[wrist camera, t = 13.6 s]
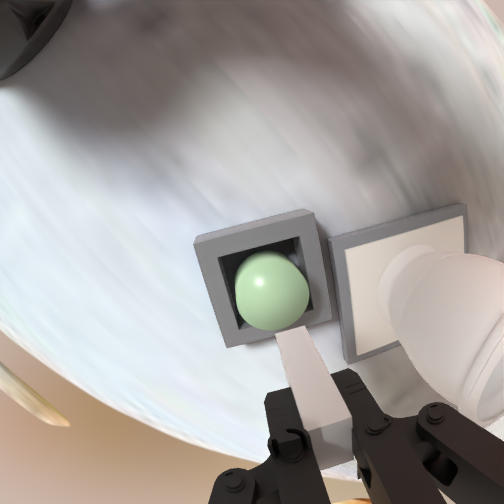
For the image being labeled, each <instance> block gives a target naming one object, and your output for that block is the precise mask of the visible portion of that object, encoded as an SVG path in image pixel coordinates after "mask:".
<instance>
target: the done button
mask: <svg viewBox="0 0 504 504" xmlns="http://www.w3.org/2000/svg"><path fill="white" fill-rule="evenodd" d="M235 293H236V303H237V308H238V310H239V313H240V314H241V316H242V317H243V319H244V320H245V321H246V322H247V323H249V324H250V325H252V326H253V327H256V328H258V329H262V330H271V331H272V330H279V329H283V328H285V327H288V326H290V325H291V324H293V323H294V322H295V321H297V320H298V319H299V318H300V317H301V315H302V314H303V313H304V311H305V309H306V307H307V304H308V300H309V288H308V284H307V282H306V280H305V278H304V277H303V275H302V274H301V273H300V271H299V270H298V269H297V267H296V266H295V265H294V264H293V262H292V261H291V260H290V259H289V258H288V257H287V256H285V255H284V254H281V253H279V252H276V251H260V252H257V253H254V254H252V255H250V256H249V257H247V258H246V259H245V260H244V261H243V262H242V263H241V265H240V266H239V268H238V270H237V272H236V275H235Z"/></svg>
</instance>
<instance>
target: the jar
mask: <svg viewBox="0 0 504 504" xmlns="http://www.w3.org/2000/svg"><path fill="white" fill-rule="evenodd" d="M377 304H378V309H379V312H380V314H381V316H382V317H383V318H384V320H385V321H387V322H388V323H389V324H391V325H392V327H393V330H394V332H395V334H396V336H397V338H398V340H399V342H400V344H401V345H402V347H403V348H404V349H405V351H406V353H407V355H408V357H409V359H410V361H411V362H412V364H413V365H414V367H415V368H416V370H417V371H418V372H419V374H420V375H421V376H422V377H423V379H424V380H425V381H426V382H427V383H428V384H429V385H430V386H431V387H432V388H433V389H434V390H435V391H436V392H438V393H439V394H440V395H441V396H443V397H444V398H445V399H447V400H448V401H449V402H451V403H453V404H454V405H456V406H458V412H459V413H461V414H462V415H464V416H465V417H467V418H468V419H470V420H472V421H473V422H475V423H476V424H478V425H479V426H481V427H482V428H485V427H487V426H489V425H490V424H492V423H494V422H495V421H497V420H498V419H499V418H501V417H502V416H503V415H504V263H502V262H499V261H497V260H494V259H491V258H488V257H485V256H481V255H475V254H465V253H462V252H457V251H449V250H441V251H437V250H436V249H434V248H433V247H431V246H427V245H415V246H411V247H409V248H407V249H405V250H403V251H402V252H400V253H399V254H398V255H397V256H396V257H394V259H393V260H392V261H391V262H390V263H389V265H388V266H387V267H386V269H385V271H384V273H383V275H382V277H381V279H380V282H379V286H378V291H377Z"/></svg>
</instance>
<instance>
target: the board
mask: <svg viewBox="0 0 504 504" xmlns="http://www.w3.org/2000/svg"><path fill="white" fill-rule="evenodd" d="M327 242H328V248H329V254H330V259H331V265H332V272H333V278H334V284H335V291H336V298H337V305H338V312H339V320H340V328H341V336H342V345H343V354H344V359H345V361H346V363H347V364H348V365H349V364H352V363H355V362H357V361H360V360H363V359H365V358H368V357H371V356H373V355H376V354H379V353H381V352H384V351H386V350H389V349H391V348H393V347H396V346H398V345H401V344H400V342H399V340H398V338H397V336H396V334H395V332H394V330H393V327H392V325H391V324H389V323H388V322H387V321H385V320H384V318H383V317H382V316H381V314H380V312H379V309H378V304H377V291H378V286H379V282H380V279H381V277H382V275H383V273H384V271H385V269H386V267H387V266H388V265H389V263H390V262H391V261H392V260H393V259H394V257H396V256H397V255H398V254H399V253H400V252H402V251H403V250H405V249H407V248H409V247H411V246H415V245H427V246H431V247H433V248H434V249H436V250H437V251H441V250H449V251H457V252H462V253H465V254H468V223H467V207H466V204H463V203H457V204H453V205H449V206H446V207H442V208H438V209H435V210H431V211H427V212H424V213H420V214H416V215H413V216H409V217H405V218H402V219H398V220H394V221H390V222H387V223H383V224H379V225H376V226H372V227H368V228H364V229H361V230H357V231H353V232H350V233H346V234H342V235H338V236H335V237H331V238H327Z"/></svg>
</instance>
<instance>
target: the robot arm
mask: <svg viewBox="0 0 504 504" xmlns="http://www.w3.org/2000/svg"><path fill="white" fill-rule="evenodd" d="M71 3H72V0H0V80H2V79H4V78H6V77H8V76H10V75H12V74H13V73H15V72H16V71H18V70H19V69H21V68H22V67H23V66H24V65H25V64H27V63H28V62H29V61H30V60H31V59H32V58H33V57H34V56H35V55H36V54H37V53H38V52H39V51H40V50H41V49H42V48H43V47H44V45H45V44H46V43H47V42H48V41H49V39H50V38H51V37H52V36H53V34H54V33H55V31H56V30H57V29H58V27H59V26H60V24H61V22H62V21H63V19H64V17H65V16H66V14H67V12H68V10H69V8H70V5H71ZM275 336H276V340H277V344H278V348H279V352H280V356H281V360H282V364H283V368H284V371H285V375H286V379H287V382H288V385H289V387H288V388H285V389H281V390H277V391H273V392H269V393H267V396H266V398H265V401H264V405H265V410H266V416H267V421H268V427H269V432H270V438H269V439H268V445H267V446H268V449H269V451H270V454H271V455H270V456H269V458H268V459H267V460H266V461H265V462H264V463H262V464H261V465H259V466H257V467H255V468H253V469H251V470H246V469H241V468H234V469H229V470H227V471H225V472H223V473H222V474H220V475H219V476H218V477H217V479H216V481H215V483H214V486H213V490H212V493H211V496H210V499H209V502H208V504H331V503H330V500H329V497H328V494H327V491H326V488H325V485H324V482H323V478H322V475H321V472H320V470H324V469H327V468H330V467H333V466H336V465H339V464H342V463H345V462H348V461H351V460H354V456H355V458H356V460H357V477H358V479H362V481H363V483H364V485H365V488H366V490H367V492H368V495H369V497H370V499H371V502H372V504H447V503H446V501H445V500H444V498H443V496H442V495H441V493H440V492H439V490H441V491H442V492H443V493H444V494H445V495H446V496H448V497H449V498H450V499H451V500H452V501H454V502H455V503H456V504H504V441H502V440H501V439H499V438H498V437H496V436H494V435H493V434H491V433H490V432H488V431H487V430H485V429H484V428H482V427H481V426H479V425H478V424H476V423H475V422H473V421H472V420H470V419H468V418H467V417H465V416H464V415H462V414H461V413H459V412H458V411H456V410H455V409H453V408H452V407H450V406H449V405H447V404H444V403H440V402H434V403H430V404H428V405H426V406H424V407H423V408H422V409H421V410H420V411H419V414H418V415H416V416H411V417H406V418H393V417H391V416H389V415H387V414H384V413H383V412H382V410H381V409H380V407H379V406H378V404H377V403H376V401H375V400H374V398H373V397H372V395H371V393H370V392H369V390H368V389H367V388H366V386H365V384H364V383H363V381H362V380H361V378H360V376H359V375H358V373H356V372H354V371H353V370H351V369H349V368H347V369H345V370H342V371H339V372H336V373H333V374H330V373H329V371H328V369H327V367H326V365H325V363H324V362H323V360H322V358H321V356H320V354H319V352H318V350H317V348H316V346H315V344H314V342H313V341H312V339H311V337H310V335H309V333H308V331H307V329H306V327H305V325H304V326H301V327H297V328H294V329H290V330H287V331H283V332H280V333H276V334H275ZM353 454H354V455H353ZM438 489H439V490H438Z"/></svg>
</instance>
